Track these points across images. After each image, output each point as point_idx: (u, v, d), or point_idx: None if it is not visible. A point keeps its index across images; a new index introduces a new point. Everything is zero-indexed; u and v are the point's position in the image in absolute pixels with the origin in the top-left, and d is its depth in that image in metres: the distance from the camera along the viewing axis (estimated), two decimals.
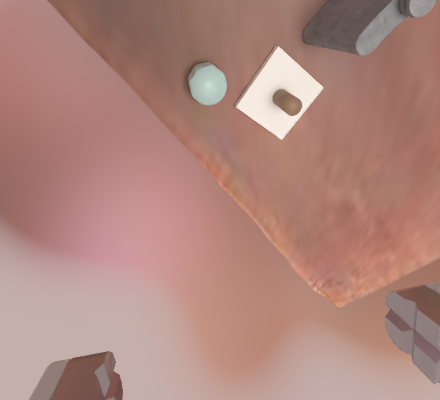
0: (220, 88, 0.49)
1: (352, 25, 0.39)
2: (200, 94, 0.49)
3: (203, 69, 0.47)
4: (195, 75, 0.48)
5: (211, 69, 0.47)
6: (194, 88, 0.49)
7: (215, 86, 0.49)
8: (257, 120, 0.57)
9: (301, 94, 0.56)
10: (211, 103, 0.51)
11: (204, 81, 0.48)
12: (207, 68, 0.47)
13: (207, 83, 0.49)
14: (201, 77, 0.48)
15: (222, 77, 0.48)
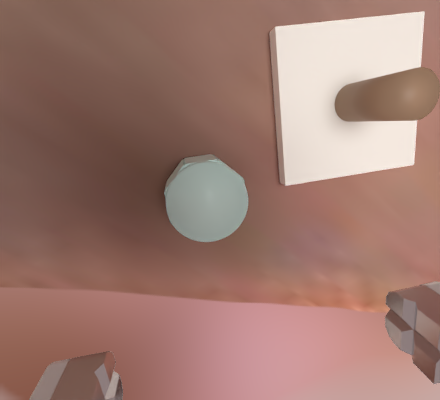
0: (230, 188, 0.21)
1: None
2: (205, 227, 0.22)
3: (173, 186, 0.21)
4: (169, 207, 0.21)
5: (187, 173, 0.21)
6: (186, 228, 0.22)
7: (218, 193, 0.21)
8: (341, 173, 0.26)
9: (388, 62, 0.24)
10: (236, 224, 0.22)
11: (193, 201, 0.21)
12: (178, 178, 0.21)
13: (201, 200, 0.21)
14: (181, 201, 0.21)
15: (218, 168, 0.21)
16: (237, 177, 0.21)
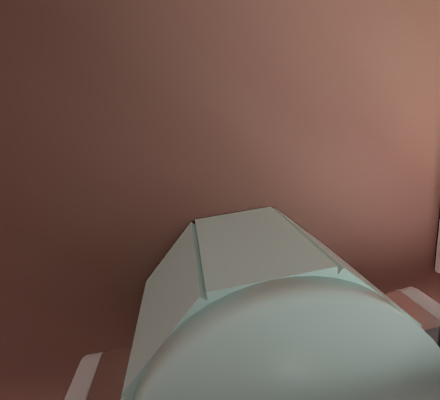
0: (397, 388, 0.05)
1: None
2: None
3: None
4: None
5: (219, 356, 0.04)
6: None
7: None
8: None
9: None
10: None
11: None
12: (180, 378, 0.04)
13: None
14: None
15: (358, 323, 0.05)
16: (430, 348, 0.05)
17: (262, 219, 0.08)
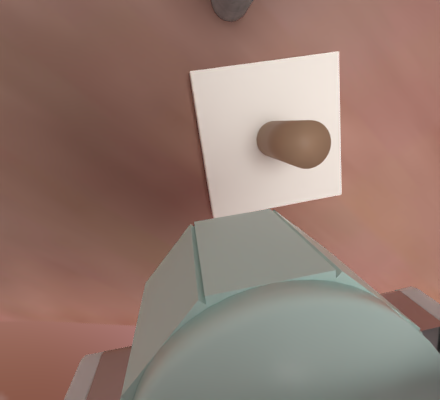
0: (395, 391, 0.05)
1: None
2: None
3: None
4: None
5: (217, 360, 0.04)
6: None
7: None
8: (269, 205, 0.27)
9: (307, 99, 0.25)
10: None
11: None
12: (178, 382, 0.04)
13: None
14: None
15: (356, 327, 0.05)
16: (428, 352, 0.05)
17: (261, 222, 0.08)
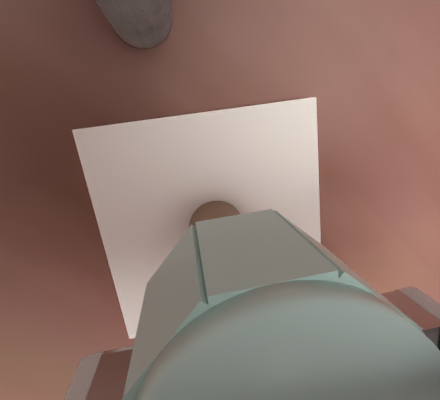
0: (398, 392, 0.05)
1: None
2: None
3: None
4: None
5: (220, 360, 0.04)
6: None
7: None
8: None
9: (267, 169, 0.16)
10: None
11: None
12: (181, 383, 0.04)
13: None
14: None
15: (359, 328, 0.05)
16: (430, 353, 0.05)
17: (263, 222, 0.08)
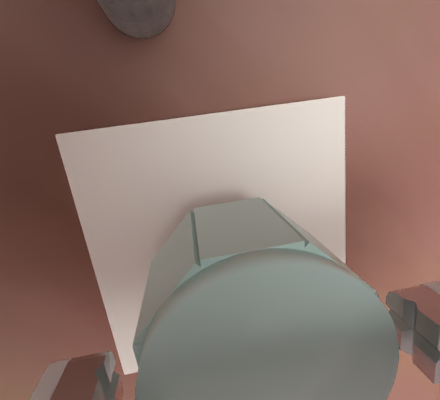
0: (351, 337, 0.06)
1: None
2: None
3: (160, 347, 0.06)
4: None
5: (208, 305, 0.06)
6: None
7: (310, 356, 0.06)
8: None
9: (286, 180, 0.14)
10: None
11: (226, 385, 0.06)
12: (179, 322, 0.06)
13: (254, 378, 0.06)
14: (189, 387, 0.06)
15: (316, 282, 0.06)
16: (375, 305, 0.06)
17: (250, 207, 0.09)
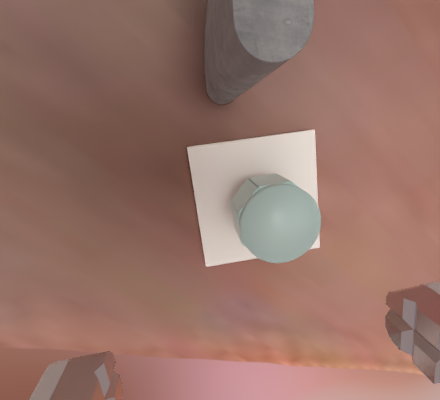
0: (304, 210, 0.21)
1: (221, 22, 0.14)
2: (277, 248, 0.22)
3: (249, 209, 0.21)
4: (243, 229, 0.21)
5: (263, 196, 0.21)
6: (259, 249, 0.22)
7: (292, 215, 0.21)
8: (254, 255, 0.31)
9: (287, 169, 0.29)
10: (308, 246, 0.22)
11: (267, 223, 0.21)
12: (254, 201, 0.21)
13: (275, 222, 0.21)
14: (256, 223, 0.21)
15: (293, 191, 0.21)
16: (311, 199, 0.21)
17: (272, 176, 0.24)
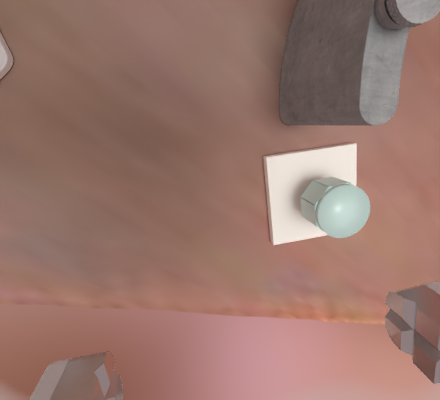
0: (359, 201, 0.32)
1: (335, 94, 0.24)
2: (341, 228, 0.33)
3: (324, 201, 0.31)
4: (320, 215, 0.32)
5: (333, 193, 0.31)
6: (329, 229, 0.32)
7: (351, 205, 0.32)
8: (309, 236, 0.41)
9: (335, 172, 0.39)
10: (361, 225, 0.33)
11: (335, 211, 0.32)
12: (328, 196, 0.31)
13: (340, 210, 0.32)
14: (328, 211, 0.32)
15: (352, 189, 0.31)
16: (364, 194, 0.32)
17: (331, 178, 0.35)
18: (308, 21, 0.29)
